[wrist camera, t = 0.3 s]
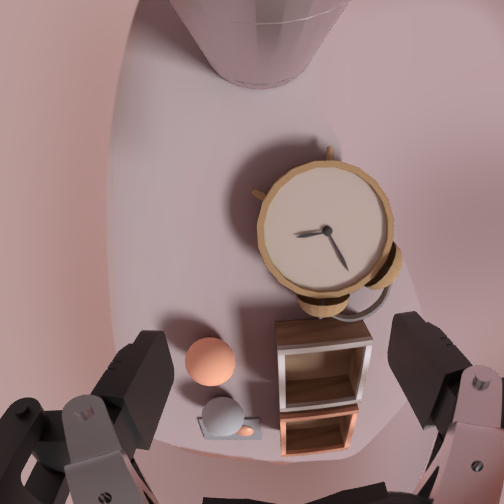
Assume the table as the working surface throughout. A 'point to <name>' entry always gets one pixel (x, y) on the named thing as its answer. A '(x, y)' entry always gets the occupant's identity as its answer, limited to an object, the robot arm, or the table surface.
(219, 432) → the grey ball
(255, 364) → the table surface
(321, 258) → the alarm clock
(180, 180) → the table surface
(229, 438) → the card
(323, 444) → the terracotta-rimmed square box
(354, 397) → the grey-band box
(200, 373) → the terracotta ball
